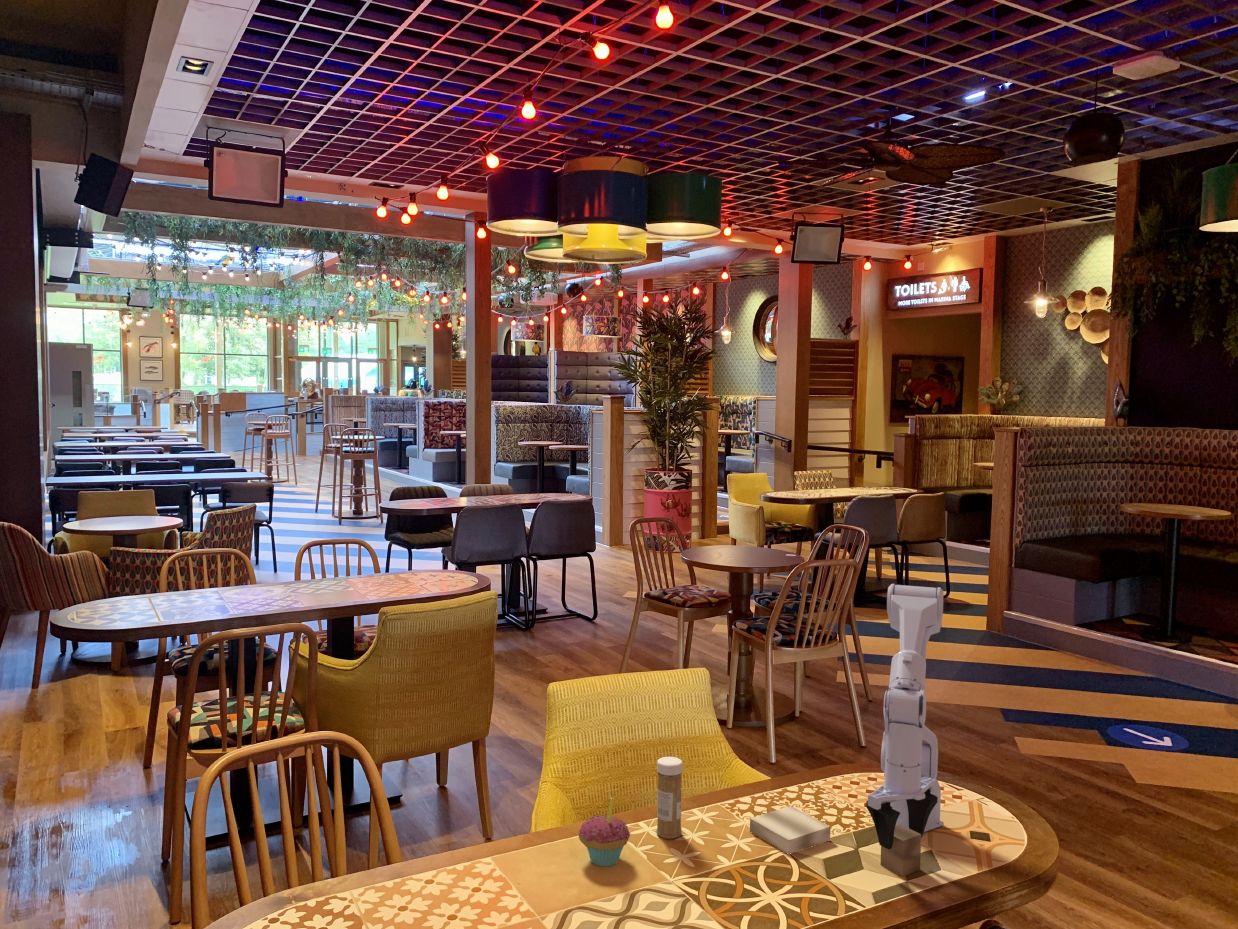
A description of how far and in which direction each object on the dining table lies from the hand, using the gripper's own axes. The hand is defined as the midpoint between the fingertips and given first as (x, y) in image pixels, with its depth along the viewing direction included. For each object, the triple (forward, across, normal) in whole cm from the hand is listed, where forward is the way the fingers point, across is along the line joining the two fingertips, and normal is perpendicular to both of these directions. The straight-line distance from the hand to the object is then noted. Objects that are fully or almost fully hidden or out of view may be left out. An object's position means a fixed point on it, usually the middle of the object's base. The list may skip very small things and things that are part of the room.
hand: (900, 841), depth 151 cm
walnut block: (+4, 0, 0) cm, 5 cm away
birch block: (+5, -8, +18) cm, 20 cm away
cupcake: (+5, -41, +28) cm, 50 cm away
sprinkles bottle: (+5, -26, +30) cm, 40 cm away
